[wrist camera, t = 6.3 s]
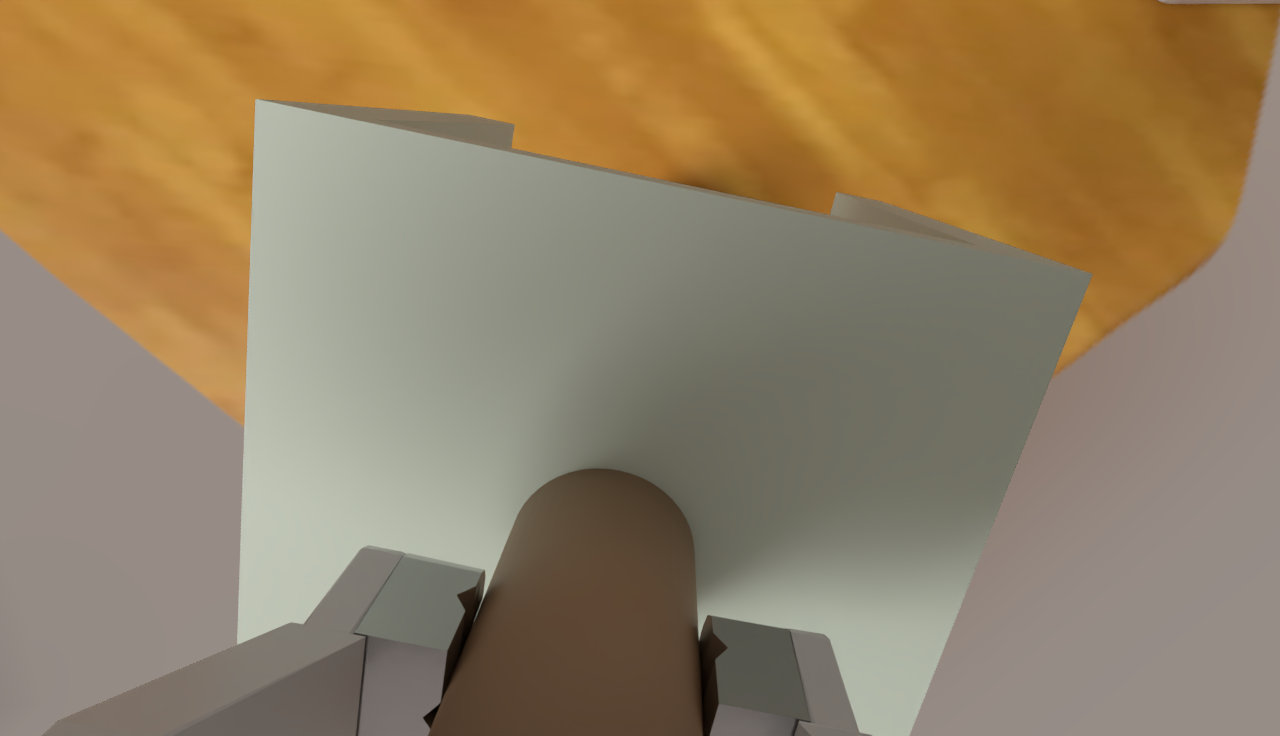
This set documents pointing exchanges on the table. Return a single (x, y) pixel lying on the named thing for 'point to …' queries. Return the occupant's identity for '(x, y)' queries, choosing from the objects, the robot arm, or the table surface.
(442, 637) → the robot arm
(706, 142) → the table surface
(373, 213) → the cover
